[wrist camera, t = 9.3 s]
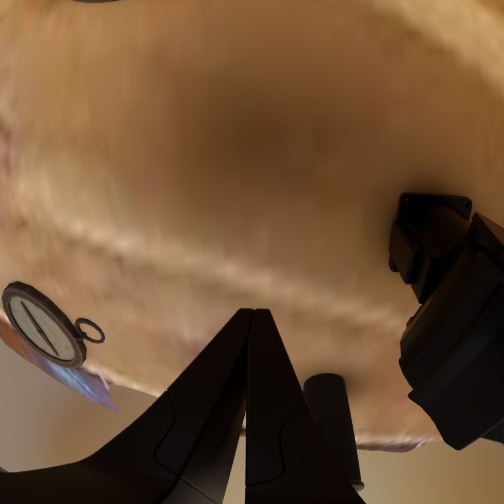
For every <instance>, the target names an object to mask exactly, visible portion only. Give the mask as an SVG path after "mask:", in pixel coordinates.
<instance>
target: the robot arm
mask: <svg viewBox="0 0 504 504" xmlns="http://www.w3.org/2000/svg"><path fill="white" fill-rule="evenodd" d="M406 198H409V201H408V202H406V203H405V199H406ZM466 202H467V205H466V206H465V204H466ZM471 208H472V201H471V200H470V199H469V198H467V197H460V196H449V195H436V194H422V193H403V194H402V195H401V196H400V201H399V208H398V215H397V220H396V221H395V222H394V223H393V230H392V236H391V242H390V248H389V252H390V254H391V257H390V262H389V267H390V269H391V271H393V272H399V273H400V275H401V277H402V279H403V281H404V283H405V284H406V285H409V284H410V285H411V287H412V289H413V291H414V293H415V296H416V298H417V300H418V302H419V303H420V304H422V305H421V307H420V308H419V309H418V311H417V312H416V313H415V315H414V316H413V317H411V318H410V319H409V321H408V322H407V327H406V330H405V331H404V332H403V335H402V338H401V341H400V347H401V357H400V358H399V365H400V368H401V370H402V373H403V375H404V377H405V378H406V380H407V382H408V384H409V385H410V386H411V387H412V389H413V390H412V391H411V392H410V393H409V394H408V397H409V399H411V400H412V401H413V402H415V403H416V404H417V405H419V406H420V407H421V408H422V409H423V410H424V411H425V412H426V413H427V414H428V415H429V416H430V417H431V419H432V420H433V422H434V424H435V425H436V427H437V429H438V431H439V432H440V434H441V436H442V438H443V440H444V441H445V443H447V444H448V445H450V446H451V447H453V448H454V449H456V450H462V449H463V448H465V447H467V446H468V445H470V444H471V443H473V442H474V441H476V440H477V439H479V438H484V439H487V440H491V441H494V442H499V443H501V444H503V445H504V228H502V227H501V226H499V225H498V224H496V223H494V222H493V221H491V220H489V219H488V218H486V217H484V216H483V215H481V214H479V213H478V212H475V213H474V215H473V217H472V223H471V222H470V221H469V217H470V212H471ZM394 265H396V266H394ZM245 412H246V470H245V474H246V475H245V486H246V488H245V504H366V503H365V502H364V501H363V499H362V498H361V497H360V496H359V494H358V493H357V491H356V490H355V489H354V487H353V486H352V484H351V483H350V481H349V479H348V478H347V476H346V475H345V473H344V471H343V470H342V468H341V467H340V465H339V463H338V462H337V460H336V459H335V457H334V455H333V454H332V452H331V450H330V449H329V447H328V445H327V443H326V442H325V440H324V438H323V436H322V434H321V433H320V431H319V428H318V426H317V424H316V422H315V420H314V417H313V415H312V413H311V410H310V408H309V405H308V403H307V402H306V398H305V396H304V393H303V391H302V389H301V386H300V384H299V381H298V379H297V376H296V374H295V371H294V369H293V366H292V364H291V361H290V359H289V356H288V354H287V351H286V349H285V346H284V344H283V341H282V339H281V336H280V334H279V331H278V329H277V326H276V324H275V321H274V319H273V316H272V314H271V311H270V310H269V309H259V308H257V309H255V310H254V309H252V308H240V309H239V310H238V311H237V312H236V313H235V314H234V315H233V316H232V318H231V319H230V320H229V321H228V322H227V323H226V324H225V325H224V327H223V328H222V329H221V330H220V331H219V332H218V333H217V334H216V336H215V337H214V338H213V339H212V340H211V341H210V342H209V343H208V345H207V346H206V347H205V348H204V349H203V350H202V351H201V352H200V353H199V355H198V356H197V357H196V358H195V359H194V360H193V361H192V362H191V363H190V364H189V366H188V367H187V368H186V369H185V370H184V371H183V372H182V373H181V374H180V375H179V376H178V378H177V379H176V380H175V381H174V382H173V383H172V384H171V385H170V386H169V387H168V388H167V391H164V393H163V394H162V395H161V396H160V397H159V398H158V399H157V400H156V401H155V402H154V403H153V404H152V405H151V406H150V407H149V408H148V409H147V410H146V411H145V412H144V413H143V414H142V415H141V416H140V417H138V418H137V419H136V420H135V421H134V422H133V423H132V424H130V425H129V426H128V427H127V428H126V429H124V430H123V431H122V432H121V433H119V434H118V435H117V436H116V437H114V438H113V439H112V440H111V441H109V442H108V443H107V444H106V445H104V446H103V447H102V448H100V449H99V450H98V451H96V452H95V453H94V454H92V455H90V456H89V457H87V458H85V459H83V460H80V461H77V462H74V463H70V464H65V465H60V466H54V467H49V468H43V469H37V470H30V471H22V472H8V471H6V470H4V469H3V468H1V467H0V504H222V502H223V499H224V495H225V491H226V487H227V484H228V480H229V476H230V472H231V468H232V464H233V460H234V456H235V452H236V449H237V444H238V441H239V437H240V433H241V428H242V424H243V420H244V416H245Z"/></svg>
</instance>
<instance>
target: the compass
mask: <svg viewBox="0 0 504 504" xmlns="http://www.w3.org/2000/svg"><path fill="white" fill-rule="evenodd" d="M1 299H2V303H3V309H4V311H5V313H6V315H7V317H8V319H9V321H10V322H11V324H12V326H13V327H14V328H15V330H16V331H17V332H18V334H19V335H20V336H21V337H22V339H23V340H24V341H25V342H26V343H28V344H29V345H30V346H31V347H32V348H33V349H34V350H35V351H36V352H38V353H39V354H40V355H42V356H43V357H45V358H46V359H48V360H49V361H51V362H53V363H55V364H57V365H60V366H62V367H64V368H73V369H76V368H78V367H79V366H81V365H82V364H83V363H84V361H85V359H86V346H85V344H84V342H83V339H86V340H88V341H90V342H92V343H98V344H99V343H103V342H104V340H105V336H104V333H103V332H102V330H101V329H100V328H99V327H98V326H97V325H96V324H95V323H93V322H91V321H89V320H87V319H79V320H76V322H75V327H74V325H73V324H72V323H71V321H70V320H69V319H68V317H67V316H66V315H65V314H64V313H63V312H62V311H61V310H60V309H59V308H58V307H57V306H56V305H55V304H54V303H53V302H52V301H51V300H50V299H49V298H48V297H46V296H45V295H43V294H42V293H41V292H39V291H38V290H36V289H35V288H34V287H32V286H30V285H27V284H24V283H22V282H19V281H17V282H14V283H11V284H9V285H8V286H7V287H6V288H5V289H4V291H3V295H2V298H1ZM80 323H85V324H88V325H90V326H92V327H94V328H95V329H96V330H98V331H99V333H100V334H101V337H102V338H101V340H94V339H91V338H90V337H88V336H86V333H85V332H82V331H81V330H80V329H79V326H78V325H79V324H80ZM81 336H82V337H81Z"/></svg>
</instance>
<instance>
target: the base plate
mask: <svg viewBox="0 0 504 504" xmlns="http://www.w3.org/2000/svg"><path fill="white" fill-rule="evenodd" d="M74 1H80V2H87V3H101V2H109V1H117V0H74Z"/></svg>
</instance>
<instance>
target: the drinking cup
mask: <svg viewBox="0 0 504 504" xmlns="http://www.w3.org/2000/svg"><path fill="white" fill-rule="evenodd" d="M303 393H304V396H305V398H306V402H307V403H308V405H309V408H310V410H311V413H312V415H313V417H314V420H315V422H316V424H317V426H318V428H319V431H320V433H321V434H322V436H323V438H324V440H325V442H326V443H327V445H328V447H329V449H330V450H331V452H332V454H333V455H334V457H335V459H336V460H337V462H338V463H339V465H340V467H341V468H342V470H343V471H344V473H345V475H346V476H347V478H348V479H349V481H350V483H351V484H352V486H353V487H354V489H355V490H356V491H357V492H359V491H361V490H362V489H364V483H363V482H361V475H360V469H359V461H358V455H357V448H356V442H355V436H354V430H353V424H352V419H351V413H350V408H349V402H348V397H347V392H346V387H345V382H344V380H343V378H342V377H340V376H338V375H335V374H320V375H316V376H313V377H311V378H309V379H308V380H307V381H306V382H305V384H304V389H303Z"/></svg>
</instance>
